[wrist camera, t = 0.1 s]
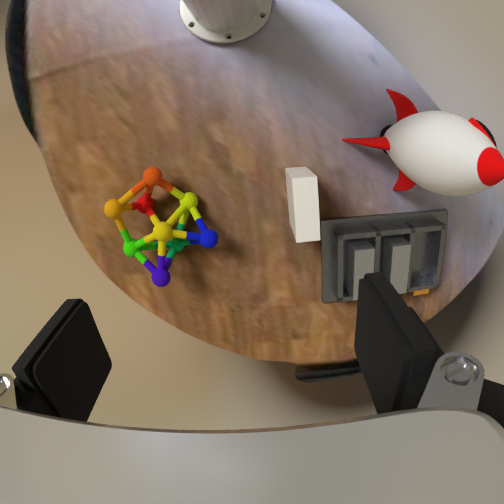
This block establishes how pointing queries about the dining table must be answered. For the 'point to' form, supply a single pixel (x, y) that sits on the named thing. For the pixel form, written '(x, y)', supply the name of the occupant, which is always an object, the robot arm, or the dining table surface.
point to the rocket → (438, 150)
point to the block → (303, 204)
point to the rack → (382, 252)
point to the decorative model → (160, 225)
